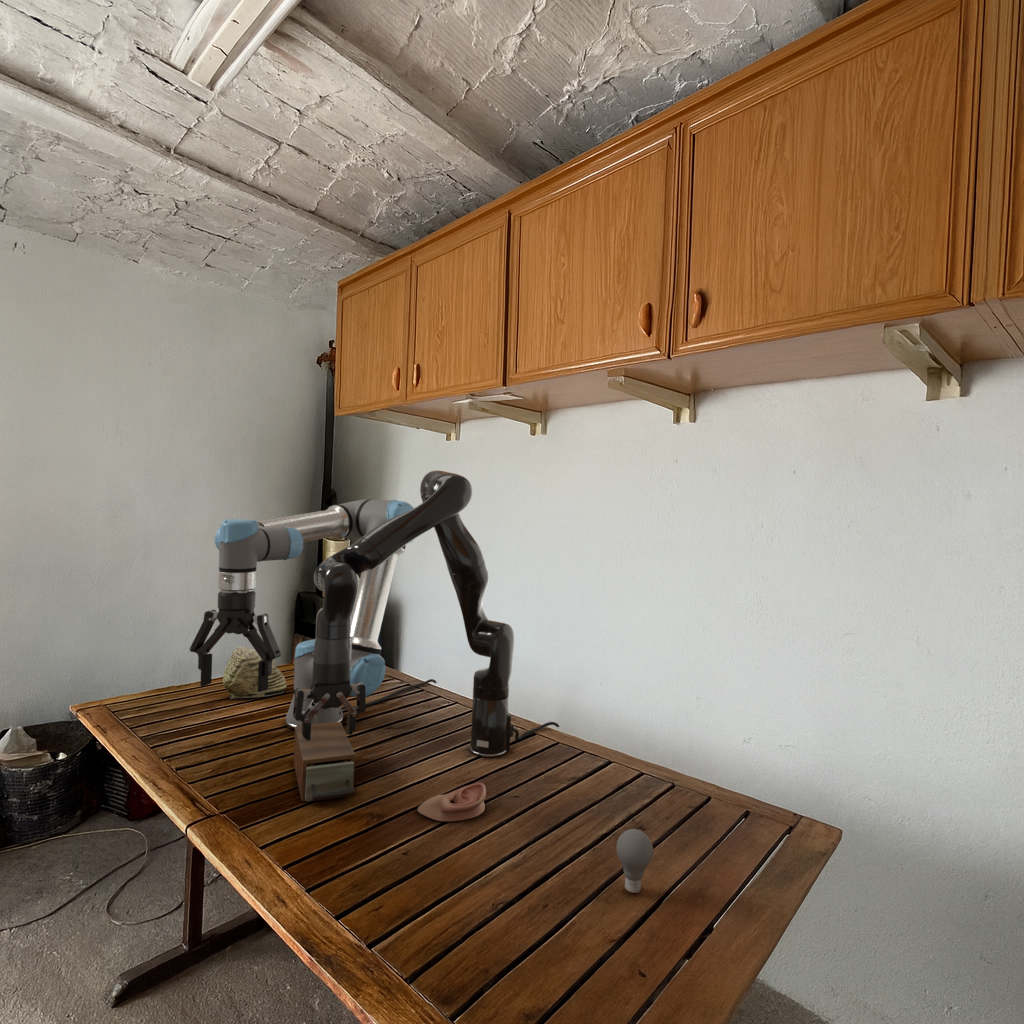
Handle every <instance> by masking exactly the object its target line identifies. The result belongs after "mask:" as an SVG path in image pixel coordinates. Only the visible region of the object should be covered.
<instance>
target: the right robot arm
mask: <svg viewBox="0 0 1024 1024" xmlns="http://www.w3.org/2000/svg"><path fill="white" fill-rule="evenodd" d="M472 487H473V486H472V484H471V482H470V481H469V480H468V478H466V477H465V476H463V475H460V474H458V473H453V472H448V471H444V470H431V471H429V472H426V474H425V475H424V476H423V477H422V480H421V481H420V486H419V493H420V499H421V501H422V503H420V504H418V505H417V506H415V507H413V509H412V510H410V511H408V512H405V513H403V514H401V515H398V516H396V517H394V518H391V519H389V520H387V521H385V522H383V523H381V524H380V525H378V526H376V527H375V528H374V529H372V530H371V531H369V532H368V533H367V534H365V535H364V536H363V537H362V538H358V539H357V540H356V541H355V542H354V543H352V544H351V545H349V546H347V547H345V548H342V549H341V550H339V551H337V552H336V553H334V554H332V555H330V556H329V557H327V558H326V559H324V561H323V560H322V562H321V563H320V564H318V566H317V567H316V569H315V571H314V574H313V582H314V585H315V587H316V588H317V589H318V590H319V591H321V592H322V593H323V594H324V596H323V602H322V608H321V607H320V609H319V610H318V612H317V614H316V619H315V622H316V623H315V638H314V639H315V644H314V652H313V676H312V686H311V688H310V689H301V688H297V689H296V690H295V699H294V709H293V716H294V718H295V719H296V721H302V736H303V737H304V738H305V739H306V741H309V740H310V739H311V722H310V721H311V719H312V718H313V717H314V715H315V714H317V713H318V712H319V710H320V709H321V708H323V709H329V708H331V707H332V708H339V706H341V707H345V708H346V711H347V713H348V714H346V729H345V732H346V735H347V736H352V735H353V733H354V732H355V731H356V726H357V716H358V715H360V714H364V713H365V712H366V711H367V706H366V703H367V702H366V698H367V697H366V696H365V685H364V684H363V683H361V682H358V683H357V684H353V685H351V684H350V674H351V651H352V645H351V623H352V619H351V617H352V612H353V609H354V605H355V601H356V597H357V592H358V585H359V575H361V573H362V572H364V571H368V570H373V569H375V568H377V567H378V566H379V565H381V564H382V563H383V562H385V561H386V560H387V559H388V558H390V557H391V556H392V555H393V554H395V553H396V552H397V551H398V550H400V549H401V548H402V547H404V546H405V545H406V546H407V545H408V544H410V543H412V542H413V541H414V540H415V539H417V538H418V537H419V536H422V535H424V534H425V533H426V532H428V531H430V530H431V529H433V528H434V531H435V533H436V536H437V539H438V542H439V546H440V549H441V551H442V555H443V558H444V560H445V564H446V568H447V571H448V573H449V576H450V580H451V583H452V586H453V588H454V591H455V594H456V597H457V601H458V603H459V604H458V605H459V607H460V608H459V609H460V611H461V615H462V621H463V625H464V629H465V634H466V639H467V643H468V644H469V648H470V650H471V652H473V653H474V654H475V655H478V656H482V657H484V658H490V659H489V665H488V667H485V668H484V667H483V668H480V669H478V670H476V671H475V672H474V673H473V683H472V685H473V686H472V706H471V707H472V709H471V729H470V730H471V732H470V747H469V751H470V752H471V753H472V754H473V755H475V756H477V757H481V758H496V757H497V758H498V757H502V756H504V755H506V753H510V749H511V738H513V737H514V739H515V741H520V740H522V739H523V738H525V737H526V736H528V735H530V734H532V733H535V732H537V731H540V730H542V729H544V728H547V727H549V726H554V727H556V728H560V725H559V723H557V722H555V721H549V722H545V723H543V724H541V725H539V726H536V727H534V728H532V729H529V730H526V731H524V732H522V734H521V735H520V732H519V730H518V729H517V728H515V726H514V725H513V724H512V714H510V713H509V704H510V703H509V700H510V679H511V676H512V674H513V666H514V656H515V655H514V654H515V646H516V645H515V644H516V636H515V630H514V628H513V626H512V625H511V624H509V623H507V622H501V621H498V620H497V621H496V620H491V619H489V618H488V616H487V614H486V610H485V608H484V607H485V606H484V597H485V595H486V593H487V590H488V586H489V583H490V572H489V569H488V566H487V562H486V559H485V555H484V553H483V551H482V549H481V547H480V545H479V544H478V542H477V540H476V539H475V538H474V537H473V535H472V534H471V533H470V531H469V530H468V528H467V527H466V525H465V523H464V522H463V520H462V518H461V515H460V513H461V512H463V511H464V510H465V509H466V508H467V507H468V505H470V502H471V500H472V497H473V488H472ZM412 540H413V541H412ZM411 541H412V542H411ZM409 542H410V543H409ZM352 690H354V693H355V694H356V695H357V697H356V705H355V706H356V707H354V708H353V707H352V704H351V702H350V701H349V700H348V697H350V696H349V694H350V693H351V691H352ZM308 695H311V697H312V698H313V700H312V702H311V703H310V704H309V706H308V708H307V710H306V711H305V712H304V713H302V708H303V701H304V700H306V699H307V696H308ZM317 707H318V708H317ZM514 733H515V735H514Z"/></svg>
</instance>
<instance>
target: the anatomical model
mask: <svg viewBox="0 0 1024 1024" xmlns="http://www.w3.org/2000/svg"><path fill="white" fill-rule="evenodd" d="M486 797H487V788H486V785H485V784H484V783H483V782H476V783H472V784H469V785H465V786H462V787H460V788H458V789H455V790H453V791H450V792H447V793H445V794H438V795H435V796H432V797H430V798H429V799H427V800H425V801H424V802H422V803H421V804H420V805H419V806H418V807H417V812H418V813H419V814H420V815H422V816H424V817H426V818H428V819H431V820H434V821H437V822H457V821H464V820H469V819H473V818H476V817H478V816H480V815H482V814H483V813H484V811H485V809H486V806H485V805H486V804H485V799H486Z"/></svg>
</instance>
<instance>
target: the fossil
mask: <svg viewBox="0 0 1024 1024" xmlns="http://www.w3.org/2000/svg"><path fill="white" fill-rule="evenodd" d="M261 660H262V659H261V657H260V656H259V654H258V653H257V652H256V650H255V649H254V648H251V647H247V646H246V647H245V646H238V647H237V648H236V649H235V650H233V651H232V653H231V656H230V657H229V659H228V660H227V663H226V666H225V668H224V671H223V675H222V676H223V677H222V685H223V687H224V688H225V690H226V691H228V693H229V698H230V699H250V698H264V697H271V696H275V695H281V694H284V693H285V691H286V689H287V687H288V686H287V680H286V678H285V676H284V674H283V673H282V672H281V669H279V668H278V667H277V665H276V663H275V662H274V659H273V660H272V673H271V674H270V675H268V689H266V690H264V691H262V692H258V668H259V661H261Z"/></svg>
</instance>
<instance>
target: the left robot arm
mask: <svg viewBox="0 0 1024 1024" xmlns="http://www.w3.org/2000/svg"><path fill="white" fill-rule="evenodd" d="M413 508H414V506H413V505H411V504H410V503H409V502H406V501H401V500H397V499H371V498H366V499H364V498H363V499H358V500H354V501H348V502H344V503H340V504H339V503H338V504H333V505H330V506H329V507H328V508H326V509H325V510H319V511H313V512H307V513H306V512H305V513H300V514H295V515H288V516H283V517H282V516H281V517H277V518H271V519H264V520H258V521H257V520H255V519H246V518H245V519H241V518H240V519H238V518H237V519H236V518H234V519H233V518H232V519H229V518H228V519H224V520H223V521H222V522H221V523H220V526H219V528H218V529H217V530H216V532H215V535H214V544H215V547H216V549H217V550H218V583H217V584H218V585H217V586H218V589H219V590H220V591H219V592H218V593H217V609H218V611H217V610H216V609H210V610H206V611H205V612H204V615H203V620H202V622H201V625H200V627H199V629H198V631H197V633H196V635H195V637H194V639H193V641H192V643H191V644H190V647H189V652H191V653H195V654H196V655H197V656H198V657H197V669H198V670H199V671H200V685H199V686H200V687H206V686H208V685H210V684H212V682H213V681H212V675H213V653H210V652H211V650H212V649H213V648H214V646H216V644H217V643H218V642H219V641H220V640H221V638H222V637H224V635H225V634H235V635H242V636H243V637H244V638H246V639H247V641H248V642H249V643H250V644H251V646H252V647H253V649H255V650H256V652H257V653H258V654H259V656H260V657H261V659H262V660H261V661H259V668H258V692H262V691H264V690H266V689H268V675H270V674H271V673H272V660H273V661H274V660H276V659H277V658H280V657H281V656H282V652H281V649H280V648H279V644H278V642H277V640H276V637H275V634H274V633H273V630H272V627H271V626H270V621H269V620H270V619H269V614H268V613H266V612H265V613H262V614H255V608H256V595H257V594H256V591H255V589H256V588H257V566H258V565H257V564H258V563H259V562H269V561H287V560H292V559H296V558H297V557H299V556H300V555H301V554H302V551H303V549H304V543H308V542H313V541H317V540H322V539H326V538H334V539H336V540H338V539H339V540H340V539H343V538H354V539H360V538H362V537H363V536H364V535H365V534H367V533H368V532H369V531H371V530H372V529H374V528H375V527H376V526H378V525H380V524H381V523H383V522H385V521H387V520H389V519H391V518H394V517H396V516H398V515H401V514H403V513H405V512H408V511H410V510H412V509H413ZM413 541H414V540H412V541H411V542H409V543H408V544H410V543H412V542H413ZM406 547H407V544H406V545H405V546H404V547H402V548H401V549H400V550H398V551H397V552H396V553H395V554H393V555H392V556H391V557H390V558H388V559H387V560H386V561H385V562H383V563H382V564H381V565H379V566H378V567H377V568H375V569H373V570H368V571H364V572H362V573H360V577H359V580H358V592H357V597H356V601H355V605H354V609H353V612H352V617H351V619H352V623H351V645H352V651H351V674H350V684H351V685H353V684H357V683H358V682H361V683H363V684H364V685H365V696H366V698H367V697H370V696H371V695H373V694H374V692H376V691H377V690H378V689H379V688H380V686H381V685H382V683H383V681H384V679H385V675H386V671H387V668H386V667H387V666H386V661H385V659H384V657H382V656H381V653H382V646H381V645H380V643H379V636H380V633H381V629H382V623H383V620H384V616H385V611H386V607H387V603H388V599H389V595H390V590H391V588H392V587H391V586H392V581H393V578H394V574H395V570H396V565H397V561H398V557H399V556H400V555H402V554H403V553H405V550H406ZM216 621H218V623H219V624H218V625H217V626H216V627H215V629H214V630H213V633H212V634H211V635H210V636H209V634H210V632H211V630H212V628H213V626H214V625H215V622H216ZM254 623H255V625H257V628H258V629H257V628H256V626H255V625H254ZM208 636H209V637H208ZM314 644H315V638H313V639H308V640H304V641H302V642H299V643H298V644H297V645H296V646H295V652H294V653H295V654H294V657H293V659H294V660H293V662H294V663H293V665H294V667H293V695H292V696H293V697H292V699H291V702H290V704H289V708H288V711H287V713H286V715H285V726H286V728H287V729H289V730H291V731H295V726H302V721H296V719H295V718H294V716H293V709H294V699H295V690H296V689H297V688H301V689H310V688H311V686H312V676H313V652H314ZM430 683H433V684H437V683H438V681H436V679H433V678H430V679H428V680H425V681H423V682H420V683H416V684H413V685H409V686H406V687H404V688H400V689H399V690H396V691H394V692H392V693H390V694H387V695H385V696H383V697H381V698H379V699H375V700H372V701H369V702H366V707H369V706H372V705H375V704H378V703H381V702H383V701H386V700H388V699H390V698H392V697H395V696H396V695H399V694H401V693H403V692H405V691H409V690H411V689H415V688H418V687H423V686H425V685H428V684H430ZM348 697H353V698H357V695H356V694H355V693H354V690H352V691H351V693H350V694H349V696H348ZM312 700H313V698H312V697H311V695H308V696H307V699H306V700H304V701H303V708H302V713H304V712H305V711H306V710H307V708H308V706H309V704H310V703H311V702H312ZM356 706H357V705H353V706H352V707H353V708H354V707H356ZM317 708H318V707H317ZM345 710H346V708H345V707H344V706H342V705H341V706H339V708H332V707H331V708H329V709H323V708H321V709H320V710H319V712H318V713H317V714H315V715H314V717H313V718H312V719H311V721H310V722H311V725H312V724H322V723H333V722H341V724H342V723H343V722H344V714H343V711H345ZM346 711H347V710H346Z"/></svg>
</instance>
